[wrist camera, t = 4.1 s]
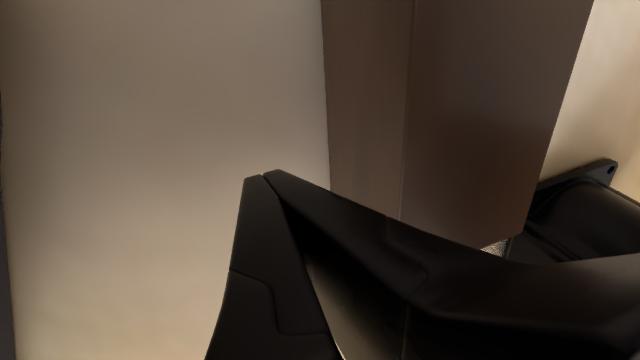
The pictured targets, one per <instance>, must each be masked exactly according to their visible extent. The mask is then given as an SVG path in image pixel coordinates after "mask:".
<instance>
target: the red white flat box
mask: <svg viewBox="0 0 640 360" xmlns="http://www.w3.org/2000/svg"><path fill="white" fill-rule="evenodd" d="M1 141H2V109H1V94H0V159H1ZM0 360H15V350H14V338H13V325H12V313H11V301H10V289H9V277H8V264H7V252H6V240H5V228H4V216H3V203H2V191H1V179H0Z"/></svg>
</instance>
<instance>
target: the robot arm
mask: <svg viewBox="0 0 640 360" xmlns="http://www.w3.org/2000/svg"><path fill="white" fill-rule="evenodd" d="M617 167H618V162H616V161H614V160H612V159H610V158H608V159H605V160H602V161H599V162H596V163H593V164H591V165H588V166H585V167H582V168H580V169H577V170H574V171H571V172H569V173H566V174H563V175H560V176H558V177H555V178H552V179H549V180H547V181H544V182H541V183H538V184H537V186H536V189H535V192H534V195H533V198H532V202H531V205H530V208H529V211H528V215H527V218H526V221H525V224H524V227H523V231H522V232H521V233H520V234H517V235H515V236H512V237H510V238H508V241H507V244H506V248H505V251H504V255H503V257H500V256H497V255H494V254H491V253H488V252H485V251H482V250H478V249H475V248H472V247H469V246H466V245H463V244H460V243H457V242H454V241H451V240H448V239H445V238H443V237H440V236H437V235H434V234H431V233H428V232H426V231H423V230H420V229H418V228H415V227H413V226H410V225H408V224H406V223H403V222H401V221H398V220H396V219H394V218H391V217H387V216H386V215H384V214H382V213H380V212H377V211H375V210H373V209H370V208H368V207H366V206H363V205H361V204H359V203H356V202H354V201H352V200H350V199H347V198H345V197H343V196H340V195H338V194H336V193H333V192H331V191H329V190H326V189H324V188H322V187H320V186H317V185H315V184H313V183H310V182H308V181H306V180H303V179H301V178H299V177H296V176H294V175H292V174H289V173H287V172H285V171H283V170H280V169H276V170H273V171H269V172H266V173H264V174H263V176H262V175H260V174H258V175H255V176H251V177H247V178H245V179H244V183H243V189H242V195H241V201H240V207H239V213H238V219H237V225H236V231H235V237H234V242H233V248H232V254H231V260H230V266H229V272H228V277H227V283H226V288H225V293H224V297H223V302H222V307H221V310H220V313H219V317H218V320H217V323H216V326H215V330H214V333H213V336H212V338H211V341H210V344H209V347H208V350H207V353H206V356H205V359H204V360H344V359H343V358H342V356H341V354H340V352H339V350H338V348H337V346H336V343H337V345H338V347H339V348H340V350H341V352H342V354H343V355H344V357H345V359H346V360H640V203H639V202H637V201H635V200H633V199H632V198H630V197H628V196H626V195H624V194H622V193H620V192H619V191H617V190H615V189H613V188H611V187H609V185H610V183H611V181H612V178H613V176H614V174H615V171H616V169H617ZM331 334H332V335H331ZM333 338H334V339H333ZM334 340H335V341H336V343H335V341H334Z"/></svg>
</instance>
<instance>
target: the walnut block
mask: <svg viewBox="0 0 640 360" xmlns="http://www.w3.org/2000/svg"><path fill="white" fill-rule="evenodd" d="M593 2H594V0H321V12H322V30H323V49H324V67H325V85H326V104H327V122H328V141H329V159H330V178H331V192H333V193H336V194H338V195H340V196H343V197H345V198H347V199H350V200H352V201H354V202H356V203H359V204H361V205H363V206H366V207H368V208H370V209H373V210H375V211H377V212H380V213H382V214H384V215H386V216H387V217H391V218H394V219H396V220H398V221H401V222H403V223H406V224H408V225H410V226H413V227H415V228H418V229H420V230H423V231H426V232H428V233H431V234H434V235H437V236H440V237H443V238H445V239H448V240H451V241H454V242H457V243H460V244H463V245H466V246H469V247H472V248H475V249H478V250H480V249H482V248H485V247H487V246H490V245H492V244H495V243H497V242H500V241H502V240H505V239H507V238H510V237H512V236H515V235H517V234H520V233H521V232H522V231H523V227H524V224H525V221H526V218H527V215H528V211H529V208H530V205H531V202H532V198H533V195H534V192H535V189H536V186H537V182H538V179H539V176H540V173H541V170H542V166H543V163H544V160H545V157H546V153H547V150H548V147H549V144H550V141H551V137H552V134H553V131H554V128H555V124H556V121H557V118H558V115H559V112H560V108H561V105H562V102H563V99H564V95H565V92H566V89H567V86H568V83H569V79H570V76H571V73H572V70H573V66H574V63H575V60H576V57H577V54H578V50H579V47H580V44H581V41H582V37H583V34H584V31H585V28H586V25H587V21H588V18H589V15H590V12H591V8H592V5H593Z"/></svg>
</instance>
